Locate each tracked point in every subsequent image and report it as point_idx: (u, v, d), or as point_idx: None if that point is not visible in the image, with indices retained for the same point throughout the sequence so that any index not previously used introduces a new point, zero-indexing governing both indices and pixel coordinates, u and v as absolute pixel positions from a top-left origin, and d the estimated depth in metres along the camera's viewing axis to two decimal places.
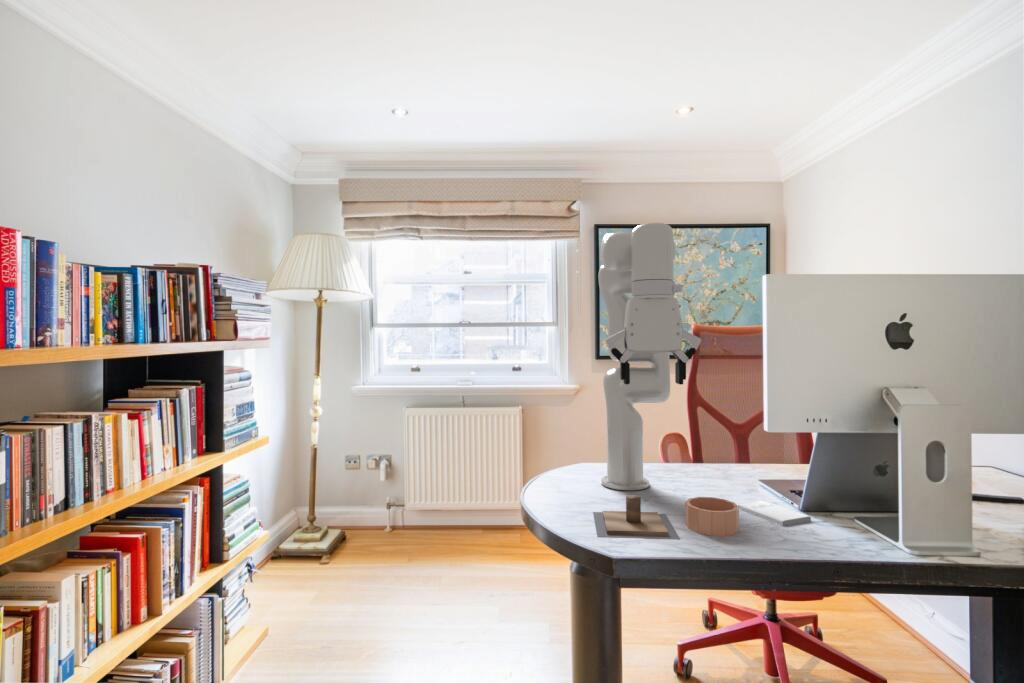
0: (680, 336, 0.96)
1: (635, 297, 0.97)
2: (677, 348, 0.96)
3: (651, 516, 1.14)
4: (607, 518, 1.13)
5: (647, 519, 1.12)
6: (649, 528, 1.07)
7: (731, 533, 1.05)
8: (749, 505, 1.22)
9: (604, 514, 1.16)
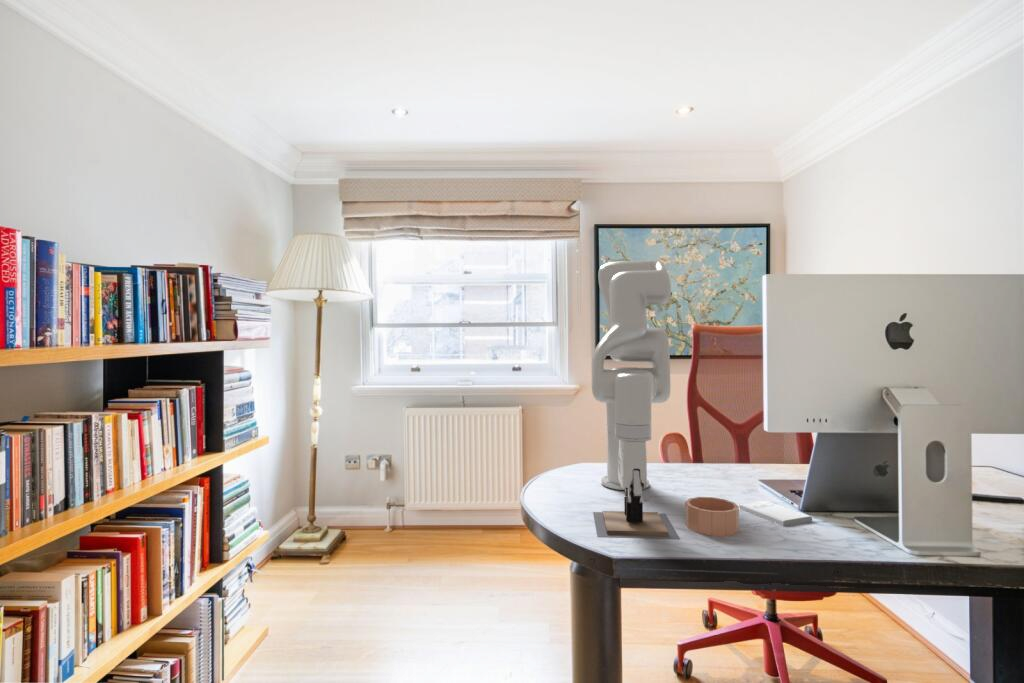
0: None
1: (643, 440, 1.08)
2: None
3: (651, 516, 1.14)
4: (607, 518, 1.13)
5: (647, 519, 1.12)
6: (649, 528, 1.07)
7: (731, 533, 1.05)
8: (750, 505, 1.22)
9: (604, 514, 1.16)
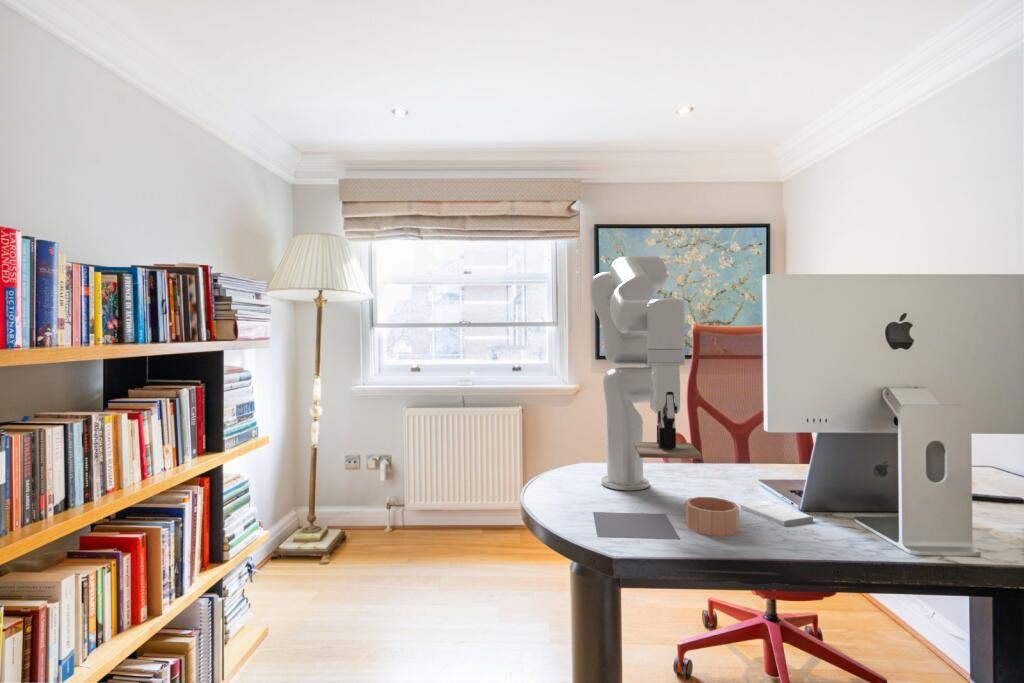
0: None
1: (676, 364, 1.07)
2: None
3: (684, 445, 1.13)
4: (639, 446, 1.12)
5: (680, 447, 1.11)
6: (682, 452, 1.06)
7: (731, 533, 1.05)
8: (751, 505, 1.22)
9: (636, 444, 1.15)
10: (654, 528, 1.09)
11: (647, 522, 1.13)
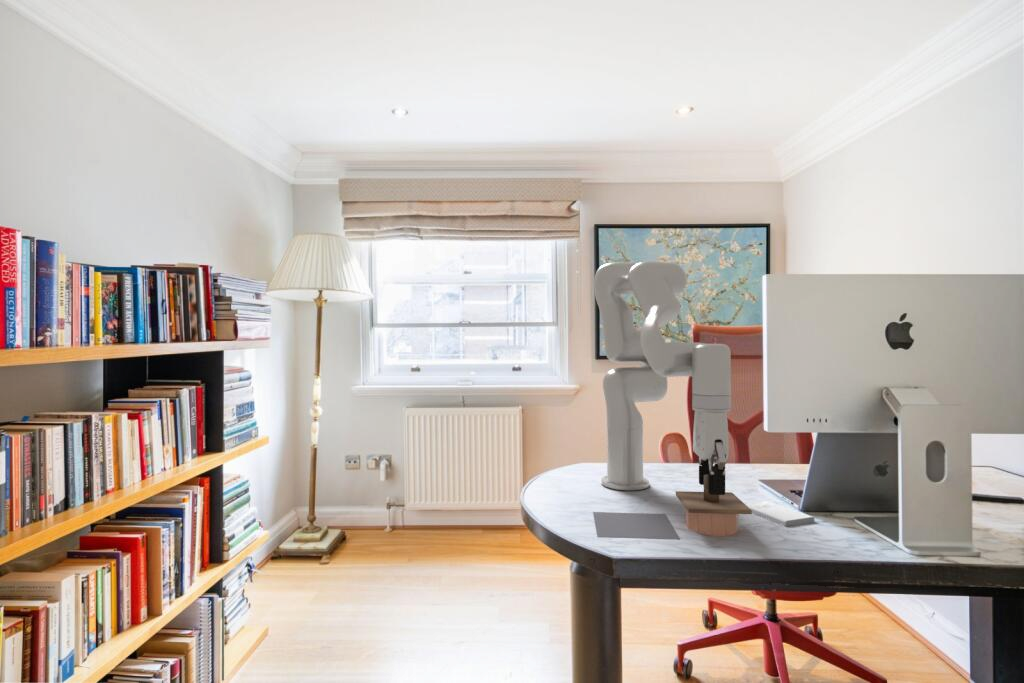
0: None
1: (724, 410, 1.06)
2: None
3: (727, 496, 1.13)
4: (684, 498, 1.12)
5: (725, 498, 1.11)
6: (730, 506, 1.06)
7: (731, 533, 1.05)
8: (753, 505, 1.22)
9: (679, 494, 1.14)
10: (654, 528, 1.09)
11: (647, 522, 1.13)
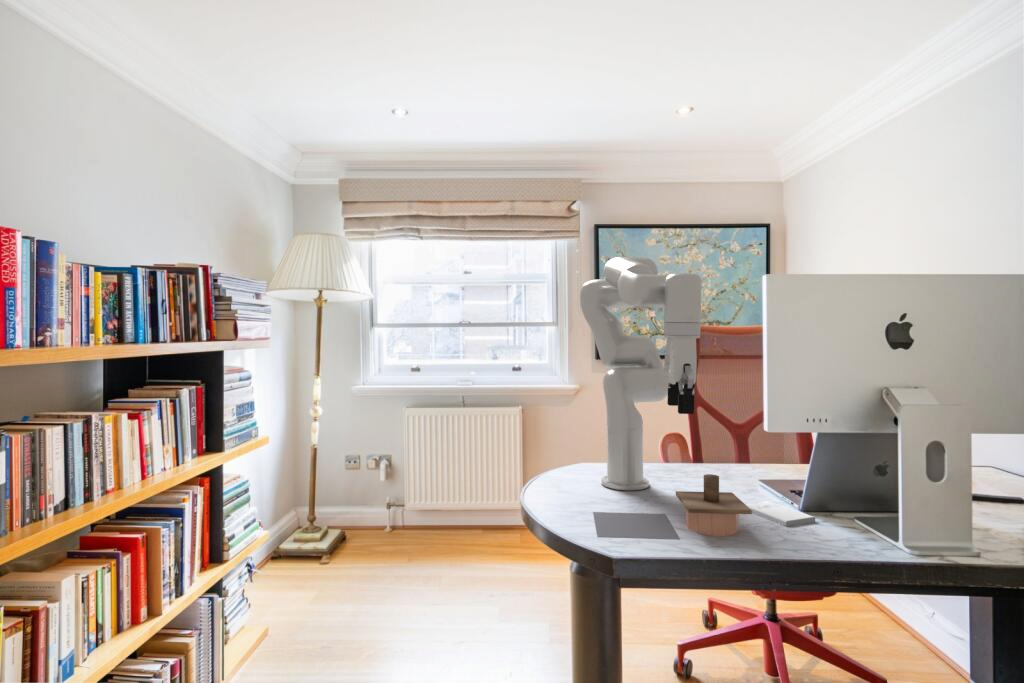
0: None
1: (693, 337, 1.11)
2: None
3: (727, 496, 1.13)
4: (684, 498, 1.12)
5: (725, 498, 1.11)
6: (730, 506, 1.06)
7: (731, 533, 1.05)
8: (753, 505, 1.21)
9: (679, 494, 1.14)
10: (654, 528, 1.09)
11: (647, 522, 1.13)
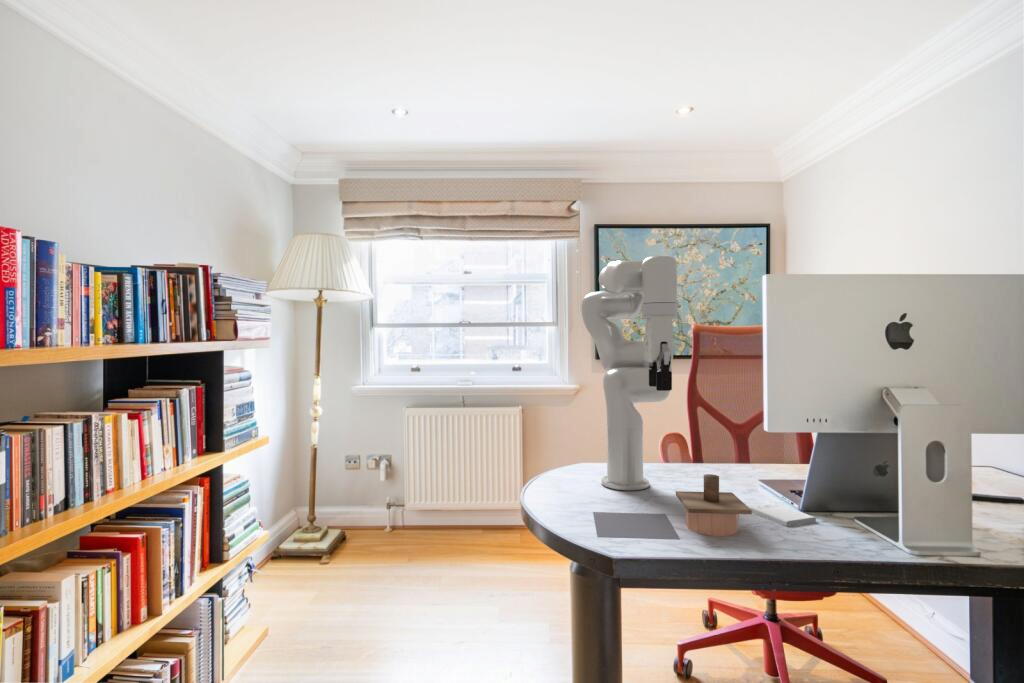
0: None
1: (669, 316, 1.15)
2: None
3: (727, 496, 1.13)
4: (684, 498, 1.12)
5: (725, 498, 1.11)
6: (730, 506, 1.06)
7: (731, 533, 1.05)
8: (754, 505, 1.21)
9: (679, 494, 1.14)
10: (654, 528, 1.09)
11: (647, 522, 1.13)
